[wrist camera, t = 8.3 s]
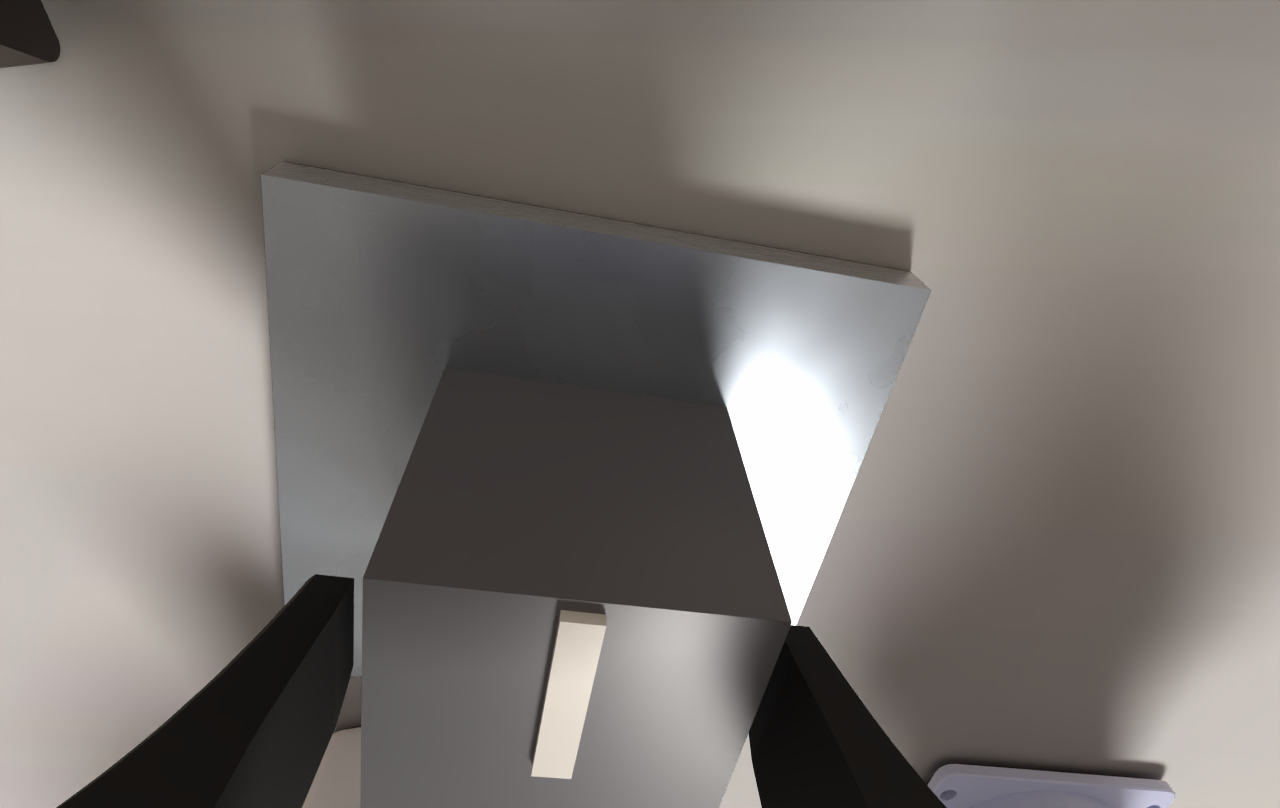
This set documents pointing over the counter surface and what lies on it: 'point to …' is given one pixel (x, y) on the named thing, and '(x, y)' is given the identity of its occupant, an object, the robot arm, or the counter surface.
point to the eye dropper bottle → (338, 773)
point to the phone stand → (26, 34)
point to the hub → (555, 348)
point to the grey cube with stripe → (565, 604)
